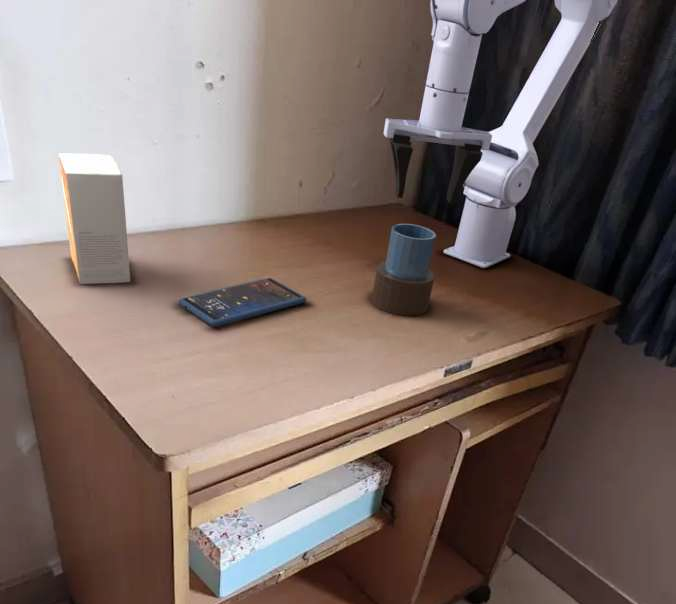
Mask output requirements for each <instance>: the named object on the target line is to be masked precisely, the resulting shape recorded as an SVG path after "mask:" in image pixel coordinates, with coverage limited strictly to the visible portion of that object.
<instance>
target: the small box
mask: <svg viewBox="0 0 676 604" xmlns="http://www.w3.org/2000/svg"><path fill="white" fill-rule="evenodd" d="M58 161H59V162H58V163H59V169H60V176H61V185H62V192H63V200H64V209H65V215H66V223H67V231H68V241H69V248H70V255H71V261H72V263H73V266H74V269H75V272H76V275H77V279H78V282H79V284H80V285H94V284H123V283H124V284H125V283H131V272H130V270H131V269H130V259H129V247H128V246H129V245H128V231H127V218H126V217H127V216H126V207H125V205H126V204H125V194H124V193H125V191H124V181H123V174H122V172H121V169H120V168H119V165H118V163H117V162H116V160H115V159H114V157H113V156H112V155H109V154H94V153H93V154H92V153H58Z"/></svg>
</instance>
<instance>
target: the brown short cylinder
mask: <svg viewBox="0 0 676 604" xmlns="http://www.w3.org/2000/svg"><path fill="white" fill-rule="evenodd" d="M385 264H386V260H384V261H381V262H380V263H378V264H377V266H376V271H375V277H374V283H373V289H372V294H371V296H372V297H371V301H372V304H374V306H375V307H377V308H378V309H380V310H382V311H384V312H386V313H389V314H393V315H396V316H397V315H398V316H405V317H406V316H407V317H411V316H419V315H422V314H424V313H426V311H428V307H429V303H430V300H431V295H432V290H433V286H434V281H435V274H434V272H433V271H432V270H431V269H429V270H428V273H427V276H426V277H425V278H423V279H419V280H409V279H403V278H399V277H396V276H393V275H391V274H390V273H388V272H387V271H386V270H385Z"/></svg>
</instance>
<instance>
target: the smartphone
mask: <svg viewBox="0 0 676 604" xmlns="http://www.w3.org/2000/svg"><path fill="white" fill-rule="evenodd" d="M306 302H307V298H306V296H304V295H303V294H301V293H299V292H297V291H295V290H293V289H292V288H290V287H289V286H286V285H284V284H283V283H281V282H280V281H277V280H276V279H274V278H272V277H267V278H262V279H258V280H253V281H249V282H245V283H240V284H236V285H232V286H228V287H223V288H220V289H215V290H211V291H206V292H201V293H198V294H194V295H189V296H184V297H180V298H179V299H178V305H179V306H181V307H182V308H183V309H186V310H187V311H189V312H190V313H192V314H193V315H195V316H196V317H197V318H199V319H201V320H202V321H204V322H205V323H206V324H208V325H210V326H212V327H215V328H216V327H221V326H223V325H227V324H231V323H235V322H239V321H243V320H246V319H249V318H253V317H256V316H261V315H265V314H267V313H271V312H275V311H278V310H282V309H286V308H290V307H294V306H296V305H301V304H304V303H306Z"/></svg>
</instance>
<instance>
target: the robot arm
mask: <svg viewBox="0 0 676 604" xmlns="http://www.w3.org/2000/svg"><path fill="white" fill-rule="evenodd" d="M618 1H619V0H554V6H555V8H556V9H557V10H558V12H559V13H560V15H561V19H560V21H559V24H558V25H557V27H556V29H555V30H554V32H553V34H552V36H551V38H550V39H549V41H548V43H547V45H546V46H545V48H544V50H543V52H542V53H541V56H540V57H539V59H538V61H537V62H536V64H535V66H534V68H533V69H532V71H531V73H530V75H529V77H528V78H527V80H526V82H525V84H524V85H523V88H522V89H521V91H520V93H519V95H518V97H517V98H516V100H515V102H514V104H513V106H512V107H511V109H510V111H509V113H508V114H507V117H506V118H505V120H504V121H503V123H502V125H501V126H500V127H497V128H495V129H492V130H490V131H486V130H479V129H474V128H470V127H469V128H468V127H464V126H463V121H464V117H465V113H466V109H467V105H468V99H469V94H470V91H471V90H470V89H471V85H472V81H473V77H474V72H475V68H476V65H477V58H478V55H479V50H480V46H481V41H482V38H483V37H482V36H483V34H487V33H488V32H490V30H491V28H492V27H493V25H494V23H495V22H496V20H497V18H498V17H499V16H500V15H502V14H503V13H505V12H507V11H509V10H511V9H514V8H515V7H517V6H519V5H521V4H523V3H524V2H526V0H430V14H431V19H432V28H431V33H430V36H431V40H432V42H433V43H432V44H433V45H432V50H431V55H430V60H429V65H428V70H427V71H428V72H427V76H426V81H425V87H424V92H423V99H422V104H421V109H420V114H419V115H420V116H419V120H413V119H398V118H397V119H396V118H388V117H387V118H385V121H384V128H383V136H384V137H385V138H388V140H389V146H390V149H391V154H392V159H393V166H394V177H395V189H394V194H395V196H396V198H398V199H403V197H404V194H405V188H406V182H407V174H408V171H409V165H410V162H411V158H412V155H413V153H414V152H413V151H414V148H413V147H412V141H419V142H429V143H436V144H443V145H452V146H455V153H454V161H453V166H452V173H451V177H450V181H449V184H448V188H447V193H446V201H447V202H448V203H449V204H452V205H455V203H456V200H457V198H458V197H459V193H460V191H461V190H462V188H463V193H462V194H463V195H465V196H466V197H465V201H464V205H463V209H462V213H461V218H460V222H459V226H458V231H457V234H456V239H455V243H454V245H453V246H450V247H447V248H445V249H443V252H442V253H443V254H445V255H447V256H450V257H452V258H455V259H458V260H461V261H462V262H466V263H468V264H471V265H474V266H476V267H479V268H482V269H486V268H489V267H491V266H494V265H496V264H498V263H501V262H502V261H504V260H506V259H508V258H511V254H510V253H509V252H507V249H508V245H509V242H510V239H511V236H512V232H513V229H514V226H515V222H516V219H517V218H516V217H517V212H516V206H517V205H518V204H519V203H520V202H521V201H522V200H523V199H524V198H525V197H526V195H527V194H528V191H529V189H530V187H531V184H532V180H533V177H534V175H535V173H536V170H537V168H538V166H539V165H540V164H539V158H538V155H537V151H536V149H535V147H534V144H533V143H534V142H535V141H536V138H537V136H538V135H539V133H540V131H541V129H542V128H543V126H544V125H545V123H546V122H547V119H548V117H549V116H550V114H551V113H552V110H554V109H553V108H554V107H555V105H556V104H557V101H558V100H559V98H560V97H561V94H562V93H563V91H564V89H565V88H566V86H567V84H568V82H570V79H571V78H572V75H573V74H574V72H575V71H576V69H577V67H578V65H579V63H580V62H581V60H582V58H583V57H584V54H585V53H586V51H587V49H588V47H589V46H590V44H591V42H592V41H591V39H592V37H593V35H594V32H595V30H596V28H597V26H598V24H599V21H601V20H602V21H603V20H605V19H606V18H607V17H609V16H610V15H611V13H612V11H613V9H614V8H615V6H616V5H617V3H618ZM594 36H595V35H594ZM593 38H594V37H593ZM592 40H593V39H592ZM590 41H591V42H590ZM411 140H412V141H411Z"/></svg>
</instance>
